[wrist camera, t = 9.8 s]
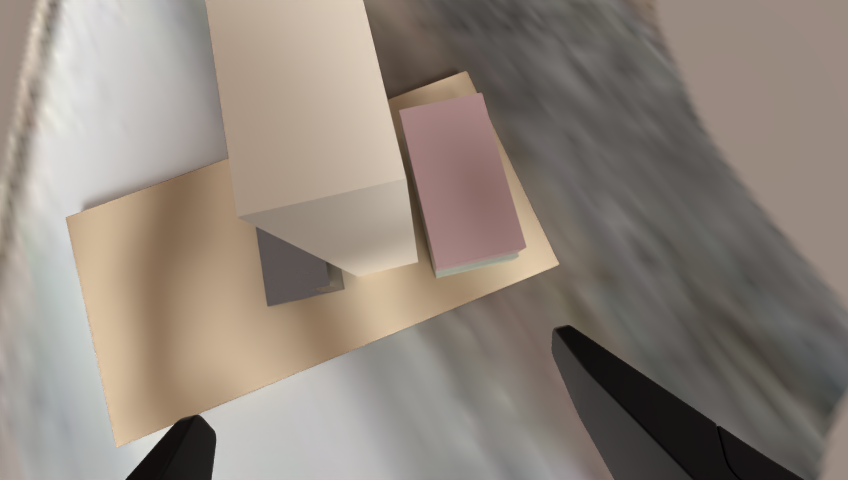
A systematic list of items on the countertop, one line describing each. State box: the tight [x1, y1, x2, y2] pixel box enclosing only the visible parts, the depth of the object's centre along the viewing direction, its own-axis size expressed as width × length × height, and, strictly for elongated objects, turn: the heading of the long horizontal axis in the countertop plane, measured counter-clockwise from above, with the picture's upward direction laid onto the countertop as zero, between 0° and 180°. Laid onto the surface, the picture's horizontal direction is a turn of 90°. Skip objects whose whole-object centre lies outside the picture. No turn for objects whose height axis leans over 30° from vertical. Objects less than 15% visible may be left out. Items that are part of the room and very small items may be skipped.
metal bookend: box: [256, 227, 345, 307], centre depth 17 cm, size 7×4×3 cm, turn 13°
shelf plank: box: [66, 71, 559, 448], centre depth 19 cm, size 23×12×1 cm, turn 112°
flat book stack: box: [399, 93, 526, 278], centre depth 18 cm, size 8×4×3 cm, turn 13°
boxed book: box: [205, 0, 418, 277], centre depth 13 cm, size 6×3×12 cm, turn 14°
